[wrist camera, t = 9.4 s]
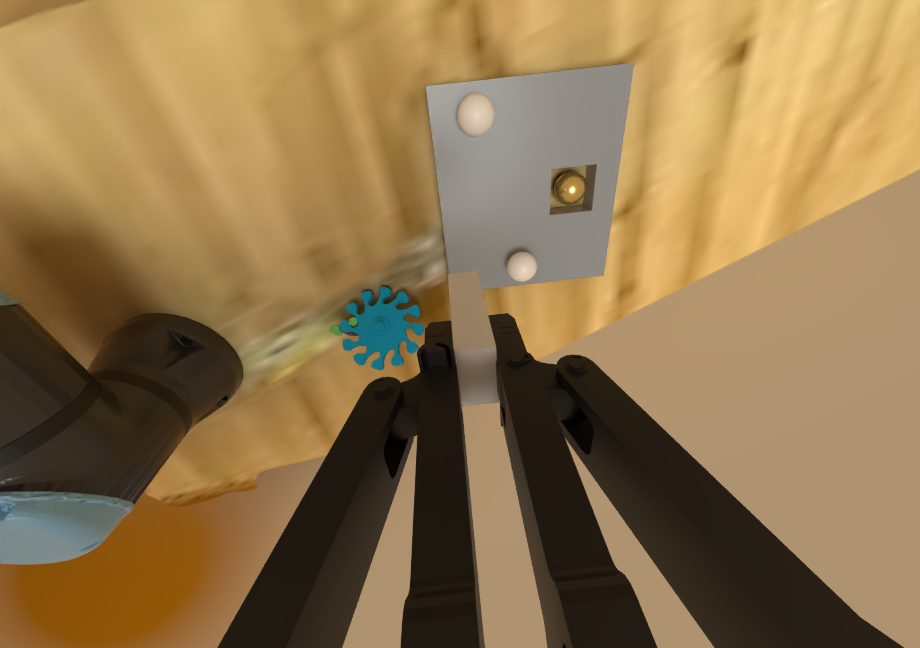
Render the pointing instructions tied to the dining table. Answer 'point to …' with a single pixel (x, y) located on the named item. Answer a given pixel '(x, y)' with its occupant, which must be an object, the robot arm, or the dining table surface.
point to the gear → (379, 328)
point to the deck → (530, 171)
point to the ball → (570, 187)
